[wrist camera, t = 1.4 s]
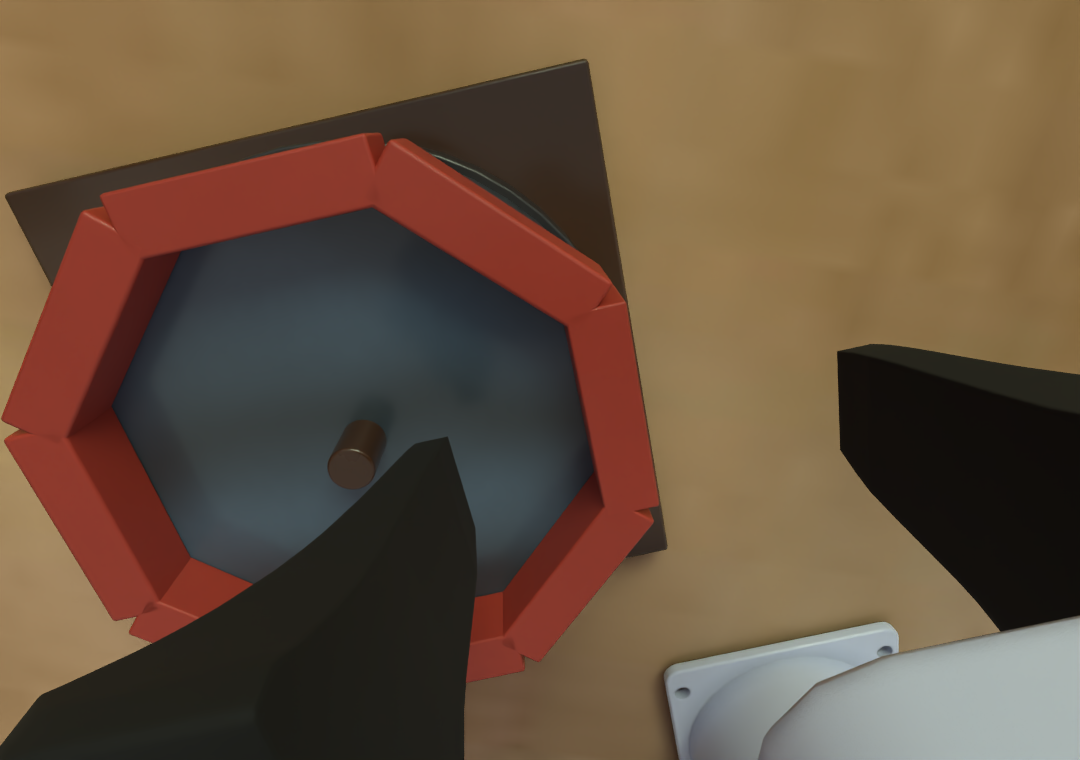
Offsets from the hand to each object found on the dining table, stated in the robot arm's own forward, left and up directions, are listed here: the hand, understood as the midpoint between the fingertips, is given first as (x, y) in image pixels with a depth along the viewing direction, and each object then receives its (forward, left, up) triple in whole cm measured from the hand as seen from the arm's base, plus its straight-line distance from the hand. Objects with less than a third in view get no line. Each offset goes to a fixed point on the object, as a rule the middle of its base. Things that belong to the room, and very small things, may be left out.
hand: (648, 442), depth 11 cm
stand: (0, +6, -6) cm, 9 cm away
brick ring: (0, +6, -3) cm, 7 cm away
